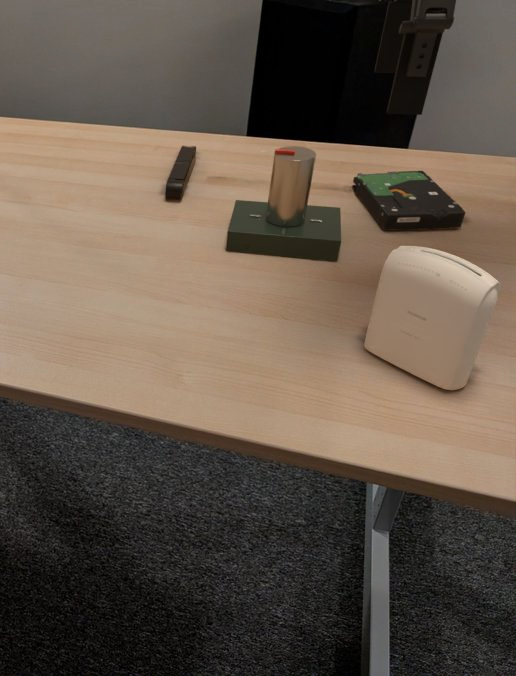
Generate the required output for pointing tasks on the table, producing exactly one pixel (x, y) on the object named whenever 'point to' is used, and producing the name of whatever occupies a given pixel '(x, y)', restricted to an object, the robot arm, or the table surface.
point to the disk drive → (407, 201)
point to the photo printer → (431, 314)
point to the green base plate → (285, 233)
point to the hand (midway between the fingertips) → (395, 91)
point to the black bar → (180, 173)
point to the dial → (290, 185)
